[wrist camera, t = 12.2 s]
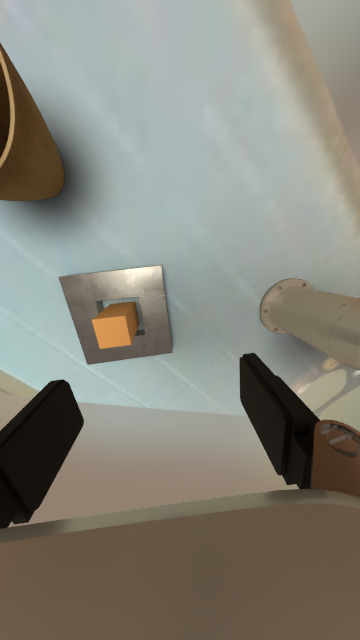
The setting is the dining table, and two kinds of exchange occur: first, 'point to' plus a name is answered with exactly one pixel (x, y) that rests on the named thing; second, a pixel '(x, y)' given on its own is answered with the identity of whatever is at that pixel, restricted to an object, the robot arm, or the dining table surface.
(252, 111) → the dining table surface
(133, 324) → the orange rectangular block
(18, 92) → the plant pot
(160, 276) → the grey square frame
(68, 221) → the dining table surface
